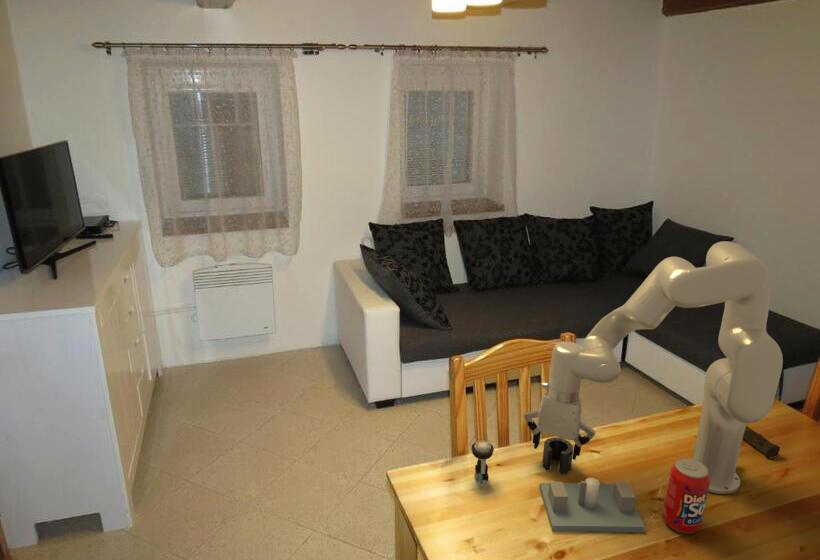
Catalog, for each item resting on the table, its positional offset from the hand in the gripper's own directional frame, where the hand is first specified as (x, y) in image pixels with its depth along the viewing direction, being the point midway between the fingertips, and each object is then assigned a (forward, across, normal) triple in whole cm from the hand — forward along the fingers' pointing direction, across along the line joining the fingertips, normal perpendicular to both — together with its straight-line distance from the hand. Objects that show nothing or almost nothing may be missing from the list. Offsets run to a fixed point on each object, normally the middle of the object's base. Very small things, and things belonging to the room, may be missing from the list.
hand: (555, 451), depth 147 cm
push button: (+5, -15, -14) cm, 21 cm away
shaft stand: (+4, +11, -12) cm, 17 cm away
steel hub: (+4, +1, 0) cm, 4 cm away
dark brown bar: (+4, +44, +35) cm, 56 cm away
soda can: (+4, +30, -8) cm, 31 cm away
